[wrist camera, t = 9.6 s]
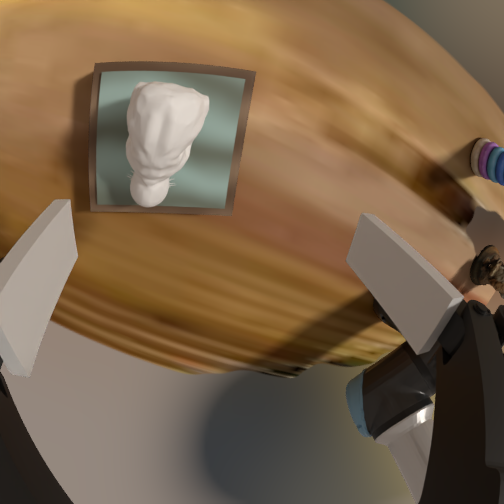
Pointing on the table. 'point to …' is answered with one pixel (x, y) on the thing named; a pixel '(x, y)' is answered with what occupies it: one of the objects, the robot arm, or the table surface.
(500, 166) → the stacking toy
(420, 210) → the table surface
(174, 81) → the square wooden tray
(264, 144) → the table surface
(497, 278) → the owl figurine
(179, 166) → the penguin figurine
